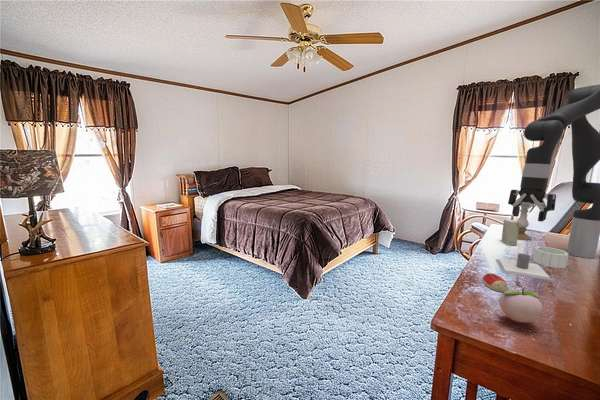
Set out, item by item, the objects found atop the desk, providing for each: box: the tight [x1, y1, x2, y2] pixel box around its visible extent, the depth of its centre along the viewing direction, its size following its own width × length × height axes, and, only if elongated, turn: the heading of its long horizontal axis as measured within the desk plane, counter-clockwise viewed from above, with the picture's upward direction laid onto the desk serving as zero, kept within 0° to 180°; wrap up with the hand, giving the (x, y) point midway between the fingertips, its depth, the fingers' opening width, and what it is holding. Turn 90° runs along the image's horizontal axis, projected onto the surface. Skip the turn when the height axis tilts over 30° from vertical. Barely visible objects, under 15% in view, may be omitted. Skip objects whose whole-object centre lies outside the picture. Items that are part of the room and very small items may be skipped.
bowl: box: [532, 246, 570, 269], centre depth 112 cm, size 10×10×6 cm
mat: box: [494, 258, 554, 282], centre depth 107 cm, size 15×15×1 cm
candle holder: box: [516, 203, 535, 241], centre depth 147 cm, size 9×9×20 cm
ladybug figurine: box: [481, 272, 509, 293], centre depth 94 cm, size 7×10×4 cm
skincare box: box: [500, 218, 520, 247], centre depth 138 cm, size 6×4×12 cm
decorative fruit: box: [498, 287, 544, 323], centre depth 72 cm, size 9×8×10 cm
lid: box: [498, 252, 551, 280], centre depth 106 cm, size 13×13×6 cm
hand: (527, 218), depth 102 cm, fingers open, 8 cm apart
